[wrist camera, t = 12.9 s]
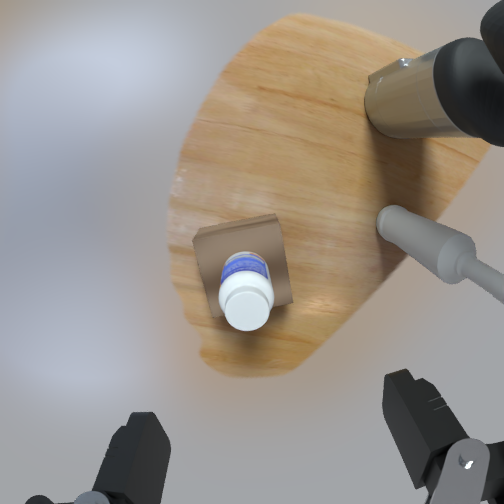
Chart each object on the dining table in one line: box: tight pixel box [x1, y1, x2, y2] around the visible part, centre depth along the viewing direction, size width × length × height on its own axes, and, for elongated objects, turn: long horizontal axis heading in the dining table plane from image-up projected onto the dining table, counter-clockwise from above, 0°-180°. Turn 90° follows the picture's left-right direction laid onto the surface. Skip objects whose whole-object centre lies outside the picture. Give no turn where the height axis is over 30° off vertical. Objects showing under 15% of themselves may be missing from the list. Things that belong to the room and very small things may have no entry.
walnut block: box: [192, 214, 293, 317], centre depth 40 cm, size 10×10×6 cm
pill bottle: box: [219, 251, 274, 331], centre depth 32 cm, size 5×5×10 cm
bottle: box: [376, 205, 504, 304], centre depth 30 cm, size 5×5×25 cm
